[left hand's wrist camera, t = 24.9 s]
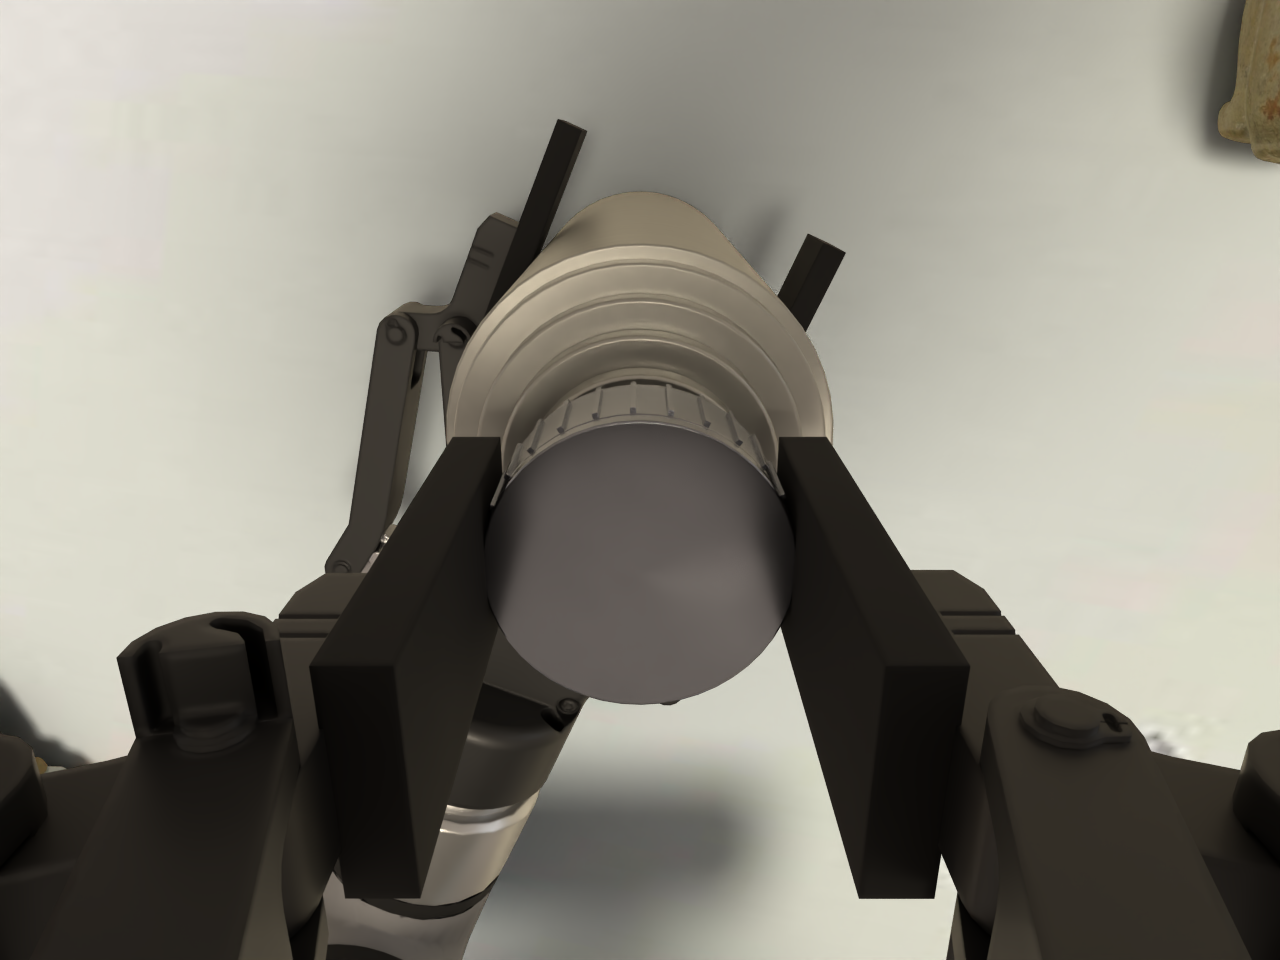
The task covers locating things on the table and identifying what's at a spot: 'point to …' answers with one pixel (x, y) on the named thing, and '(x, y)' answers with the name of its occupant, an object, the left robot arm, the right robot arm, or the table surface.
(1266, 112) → the sculpture
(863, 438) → the table surface
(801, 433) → the bottle
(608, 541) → the cap
